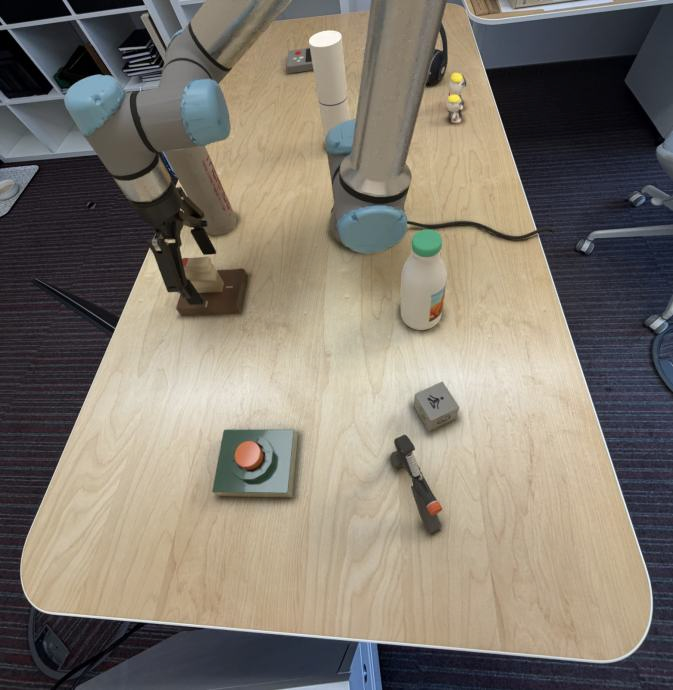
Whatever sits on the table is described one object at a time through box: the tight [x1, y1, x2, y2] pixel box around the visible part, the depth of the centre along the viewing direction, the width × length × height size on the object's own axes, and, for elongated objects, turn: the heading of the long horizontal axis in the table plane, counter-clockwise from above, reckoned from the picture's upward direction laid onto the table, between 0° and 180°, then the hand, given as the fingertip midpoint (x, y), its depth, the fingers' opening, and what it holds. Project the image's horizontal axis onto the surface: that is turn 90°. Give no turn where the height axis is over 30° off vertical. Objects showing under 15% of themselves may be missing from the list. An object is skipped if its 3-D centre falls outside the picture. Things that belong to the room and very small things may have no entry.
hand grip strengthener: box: [389, 434, 443, 536], centre depth 56 cm, size 2×12×15 cm, turn 24°
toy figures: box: [446, 72, 467, 124], centre depth 108 cm, size 12×4×8 cm, turn 169°
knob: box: [182, 256, 224, 293], centre depth 83 cm, size 6×2×8 cm, turn 88°
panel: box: [175, 268, 248, 317], centre depth 87 cm, size 13×10×3 cm
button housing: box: [211, 429, 299, 498], centre depth 66 cm, size 12×10×5 cm
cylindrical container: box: [308, 30, 351, 145], centre depth 99 cm, size 7×7×25 cm
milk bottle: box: [400, 228, 448, 331], centre depth 71 cm, size 8×8×20 cm
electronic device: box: [286, 47, 314, 75], centre depth 134 cm, size 10×2×15 cm
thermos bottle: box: [163, 146, 237, 237], centre depth 88 cm, size 8×8×28 cm
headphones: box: [426, 22, 449, 85], centre depth 115 cm, size 20×7×18 cm, turn 54°
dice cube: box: [413, 381, 460, 432], centre depth 67 cm, size 5×5×5 cm
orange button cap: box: [235, 441, 264, 470], centre depth 63 cm, size 4×4×2 cm
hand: (203, 277), depth 83 cm, fingers open, 12 cm apart
